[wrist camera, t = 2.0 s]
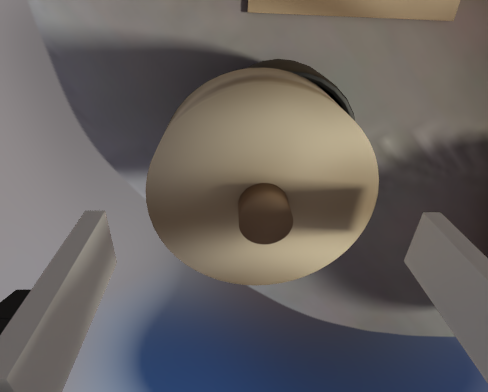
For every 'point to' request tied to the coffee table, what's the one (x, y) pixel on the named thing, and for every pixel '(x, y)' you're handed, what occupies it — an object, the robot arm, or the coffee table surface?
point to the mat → (361, 8)
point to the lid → (261, 179)
